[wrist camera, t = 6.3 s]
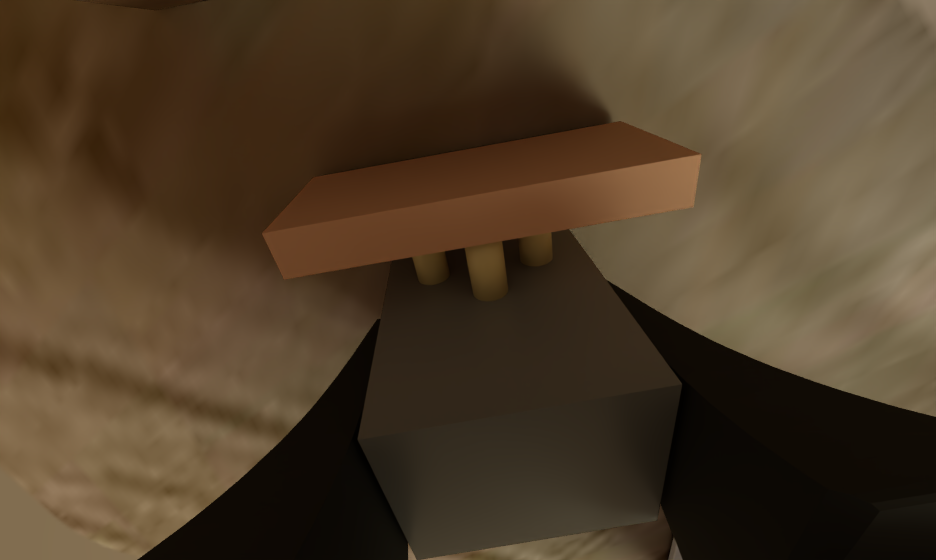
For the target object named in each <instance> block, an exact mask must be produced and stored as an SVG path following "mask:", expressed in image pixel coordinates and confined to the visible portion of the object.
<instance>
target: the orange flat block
mask: <svg viewBox="0 0 936 560" xmlns="http://www.w3.org/2000/svg"><path fill="white" fill-rule="evenodd" d="M700 161H701V154H700V153H697V152H695V151H692V150H690V149H688V148H685V147H683V146H680V145H678V144H675V143H673V142H670V141H668V140H666V139H663V138H661V137H658V136H656V135H653V134H651V133H648V132H646V131H644V130H641V129H639V128H636V127H634V126H631V125H629V124H626V123H624V122H621V121H619V122H613V123H608V124H603V125H597V126H592V127H586V128H581V129H575V130H570V131H564V132H559V133H553V134H548V135H542V136H537V137H531V138H526V139H520V140H515V141H509V142H504V143H498V144H493V145H488V146H482V147H477V148H471V149H466V150H460V151H455V152H449V153H444V154H438V155H433V156H427V157H422V158H416V159H411V160H405V161H400V162H394V163H389V164H383V165H378V166H372V167H367V168H362V169H356V170H351V171H345V172H340V173H334V174H329V175H323V176H318V177H313V178H312V179H311V180H310V181H309V182H308V183H307V185H306V186H305V187H304V188H303V189H302V190H301V191H300V192H299V193H298V194H297V196H296V197H295V198H294V199H293V200H292V201H291V202H290V203H289V204H288V205H287V206H286V208H285V209H284V210H283V211H282V212H281V213H280V214H279V215H278V216H277V217H276V218H275V220H274V221H273V222H272V223H271V224H270V225H269V226H268V227H267V228H266V229H265V230H264V232H263V233H262V235H263V237H264V239H265V241H266V243H267V245H268V247H269V249H270V252H271V254H272V256H273V258H274V260H275V262H276V264H277V266H278V268H279V270H280V272H281V274H282V276H283V279H284V280H285V279H291V278H297V277H302V276H308V275H314V274H319V273H325V272H330V271H336V270H342V269H347V268H353V267H359V266H364V265H370V264H375V263H381V262H387V261H392V260H398V259H404V258H409V257H415V256H420V255H426V254H432V253H437V252H443V251H449V250H454V249H460V248H466V247H471V246H477V245H482V244H488V243H494V242H499V241H505V240H511V239H516V238H522V237H527V236H533V235H539V234H544V233H550V232H556V231H561V230H567V229H572V228H578V227H584V226H589V225H595V224H601V223H606V222H612V221H618V220H623V219H629V218H634V217H640V216H646V215H651V214H657V213H663V212H668V211H674V210H679V209H685V208H691V207H693V206H694V200H695V193H696V187H697V180H698V174H699V167H700Z"/></svg>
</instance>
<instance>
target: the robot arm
mask: <svg viewBox="0 0 936 560" xmlns="http://www.w3.org/2000/svg"><path fill="white" fill-rule="evenodd" d="M606 281H607V280H606ZM607 282H608V283H609V285H610V286H611V287H612V289H613V290H614V292H615V293H616V294H617V296H618V297H619V298H620V300H621V301H622V302H623V304H624V305H625V307H626V308H627V309H628V311H629V312H630V313H631V315H632V316H633V318H634V319H635V320H636V322H637V323H638V324H639V326H640V327H641V328H642V330H643V331H644V333H645V334H646V335H647V337H648V338H649V339H650V341H651V342H652V343H653V345H654V346H655V348H656V349H657V350H658V352H659V353H660V354H661V356H662V357H663V358H664V360H665V361H666V363H667V364H668V365H669V367H670V368H671V369H672V371H673V372H674V374H675V375H676V376H677V378H678V379H679V380H680V382H681V383H682V389H681V394H680V399H679V405H678V410H677V416H676V421H675V426H674V432H673V437H672V443H671V448H670V453H669V459H668V464H667V470H666V475H665V480H664V486H663V491H662V497H661V502H660V504H661V506H662V509H663V511H664V514H665V516H666V519H667V521H668V524H669V526H670V529H671V531H672V534H673V536H674V538H673V542H672V546H671V550H670V555H669V559H668V560H936V417H934V416H930V415H926V414H922V413H918V412H914V411H910V410H906V409H902V408H898V407H895V406H891V405H888V404H884V403H881V402H878V401H874V400H871V399H868V398H864V397H861V396H858V395H854V394H851V393H848V392H844V391H841V390H838V389H835V388H832V387H829V386H826V385H823V384H820V383H817V382H814V381H811V380H808V379H805V378H803V377H800V376H797V375H794V374H791V373H789V372H786V371H783V370H780V369H778V368H775V367H772V366H770V365H767V364H765V363H762V362H760V361H757V360H755V359H753V358H750V357H748V356H746V355H743V354H741V353H739V352H736V351H734V350H732V349H730V348H727V347H725V346H723V345H721V344H719V343H716V342H714V341H712V340H710V339H708V338H706V337H704V336H702V335H700V334H698V333H696V332H694V331H693V330H691V329H689V328H687V327H685V326H683V325H681V324H679V323H677V322H676V321H674V320H672V319H670V318H668V317H667V316H665V315H663V314H661V313H660V312H658V311H656V310H655V309H653V308H651V307H650V306H648V305H646V304H645V303H643V302H641V301H640V300H638V299H637V298H635V297H633V296H632V295H630V294H628V293H627V292H625V291H624V290H622V289H620V288H619V287H617V286H616V285H614V284H612V283H611V282H609V281H607ZM380 320H381V319H377V321H376V322H375V323H374V325H373V326H372V328H371V329H370V330H369V332H368V333H367V335H366V336H365V338H364V339H363V341H362V342H361V344H360V345H359V347H358V348H357V349H356V351H355V352H354V354H353V355H352V357H351V358H350V359H349V361H348V362H347V364H346V365H345V366H344V368H343V369H342V371H341V372H340V373H339V375H338V376H337V377H336V379H335V380H334V381H333V382H332V384H331V385H330V386H329V387H328V389H327V390H326V391H325V393H324V394H323V395H322V396H321V398H320V399H319V400H318V401H317V403H316V404H315V405H314V406H313V407H312V408H311V409H310V411H309V412H308V413H307V414H306V415H305V416H304V417H303V418H302V420H301V421H300V422H299V423H298V424H297V425H296V426H295V427H294V428H293V429H292V430H291V431H290V432H289V433H288V434H287V435H286V436H285V437H284V438H283V439H282V440H281V441H280V442H279V443H278V444H277V445H276V446H275V447H274V448H273V449H272V450H271V451H270V452H269V453H268V454H267V455H266V456H265V457H263V458H262V459H261V460H260V461H259V462H258V463H257V464H256V465H255V466H254V467H253V468H252V469H251V470H250V471H249V472H248V473H246V474H245V475H244V476H243V477H242V478H241V479H240V480H239V481H237V482H236V483H235V484H234V485H233V486H232V487H230V488H229V489H228V490H227V491H226V492H225V493H223V494H222V495H221V496H220V497H219V498H217V499H216V500H215V501H214V502H212V503H211V504H210V505H209V506H208V507H206V508H205V509H204V510H203V511H201V512H200V513H199V514H198V515H196V516H195V517H194V518H193V519H191V520H190V521H189V522H188V523H186V524H185V525H184V526H182V527H181V528H180V529H178V530H177V531H176V532H174V533H173V534H172V535H170V536H169V537H168V538H166V539H165V540H164V541H162V542H161V543H160V544H158V545H157V546H155V547H154V548H153V549H151V550H150V551H149V552H147V553H146V554H145V555H143V556H142V557H141V558H139V559H138V560H408V541H407V539H406V537H405V535H404V533H403V531H402V529H401V527H400V525H399V523H398V521H397V519H396V517H395V515H394V513H393V511H392V509H391V506H390V504H389V502H388V500H387V498H386V496H385V494H384V492H383V490H382V488H381V486H380V484H379V482H378V480H377V478H376V476H375V474H374V472H373V470H372V468H371V466H370V464H369V462H368V460H367V458H366V456H365V454H364V452H363V450H362V448H361V446H360V444H359V442H358V435H359V430H360V424H361V419H362V414H363V409H364V404H365V398H366V393H367V388H368V383H369V377H370V372H371V367H372V362H373V357H374V351H375V346H376V341H377V336H378V331H379V325H380Z"/></svg>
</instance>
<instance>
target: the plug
mask: <svg viewBox="0 0 936 560" xmlns="http://www.w3.org/2000/svg"><path fill="white" fill-rule="evenodd" d="M681 389H682V383H681V382H680V380H679V379H678V378H677V376H676V375H675V374H674V372H673V371H672V369H671V368H670V367H669V365H668V364H667V363H666V361H665V360H664V358H663V357H662V356H661V354H660V353H659V352H658V350H657V349H656V348H655V346H654V345H653V343H652V342H651V341H650V339H649V338H648V337H647V335H646V334H645V333H644V331H643V330H642V328H641V327H640V326H639V324H638V323H637V322H636V320H635V319H634V318H633V316H632V315H631V313H630V312H629V311H628V309H627V308H626V307H625V305H624V304H623V302H622V301H621V300H620V298H619V297H618V296H617V294H616V293H615V292H614V290H613V289H612V287H611V286H610V285H609V283H608V282H607V281H606V279H605V278H604V277H603V275H602V274H601V272H600V271H599V270H598V268H597V267H596V266H595V264H594V263H593V261H592V260H591V259H590V257H589V256H588V255H587V253H586V252H585V251H584V249H583V248H582V246H581V245H580V244H579V242H578V241H577V240H576V238H575V237H574V236H573V234H572V233H571V231H570V230H569V229H567V230H561V231H556V232H550V233H544V234H539V235H533V236H527V237H522V238H516V239H511V240H505V241H499V242H494V243H488V244H482V245H477V246H471V247H466V248H460V249H454V250H449V251H443V252H437V253H432V254H426V255H420V256H415V257H409V258H404V259H398V260H392V263H391V268H390V273H389V278H388V284H387V289H386V294H385V299H384V304H383V310H382V315H381V320H380V325H379V331H378V336H377V341H376V346H375V351H374V357H373V362H372V367H371V372H370V377H369V383H368V388H367V393H366V398H365V404H364V409H363V414H362V419H361V424H360V430H359V435H358V442H359V444H360V446H361V448H362V450H363V452H364V454H365V456H366V458H367V460H368V462H369V464H370V466H371V468H372V470H373V472H374V474H375V476H376V478H377V480H378V482H379V484H380V486H381V488H382V490H383V492H384V494H385V496H386V498H387V500H388V502H389V504H390V506H391V509H392V511H393V513H394V515H395V517H396V519H397V521H398V523H399V525H400V527H401V529H402V531H403V533H404V535H405V537H406V539H407V541H408V543H409V545H410V547H411V549H412V551H413V553H414V555H415V557H416V559H417V560H421V559H427V558H433V557H439V556H445V555H451V554H457V553H463V552H470V551H476V550H482V549H488V548H494V547H500V546H506V545H512V544H518V543H524V542H530V541H536V540H542V539H548V538H555V537H561V536H567V535H573V534H579V533H585V532H591V531H597V530H603V529H609V528H615V527H621V526H627V525H633V524H640V523H646V522H652V521H657V518H658V513H659V507H660V502H661V497H662V491H663V486H664V480H665V475H666V470H667V464H668V459H669V453H670V448H671V443H672V437H673V432H674V426H675V421H676V416H677V410H678V405H679V399H680V394H681Z"/></svg>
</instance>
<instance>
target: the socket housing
mask: <svg viewBox="0 0 936 560" xmlns="http://www.w3.org/2000/svg"><path fill="white" fill-rule="evenodd" d="M77 1H85V2H93V3H101V4H109V5H117V6H125V7H133V8H141V9H149V10H159V9H164V8H169V7H175V6H180V5H185V4H190V3H195V2H201V1H206V0H77Z"/></svg>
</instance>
